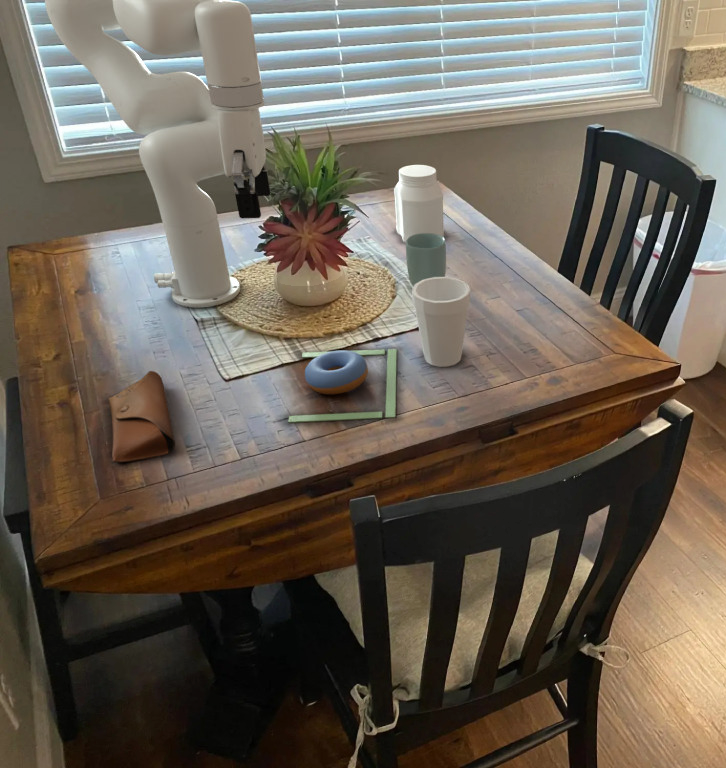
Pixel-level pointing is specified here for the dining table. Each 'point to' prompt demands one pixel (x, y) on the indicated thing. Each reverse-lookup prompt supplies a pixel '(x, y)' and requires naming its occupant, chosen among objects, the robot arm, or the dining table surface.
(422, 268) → the cup
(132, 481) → the dining table surface
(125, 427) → the sunglasses case
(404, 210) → the jar
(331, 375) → the doughnut
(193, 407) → the dining table surface
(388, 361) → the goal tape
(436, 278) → the foam cup
